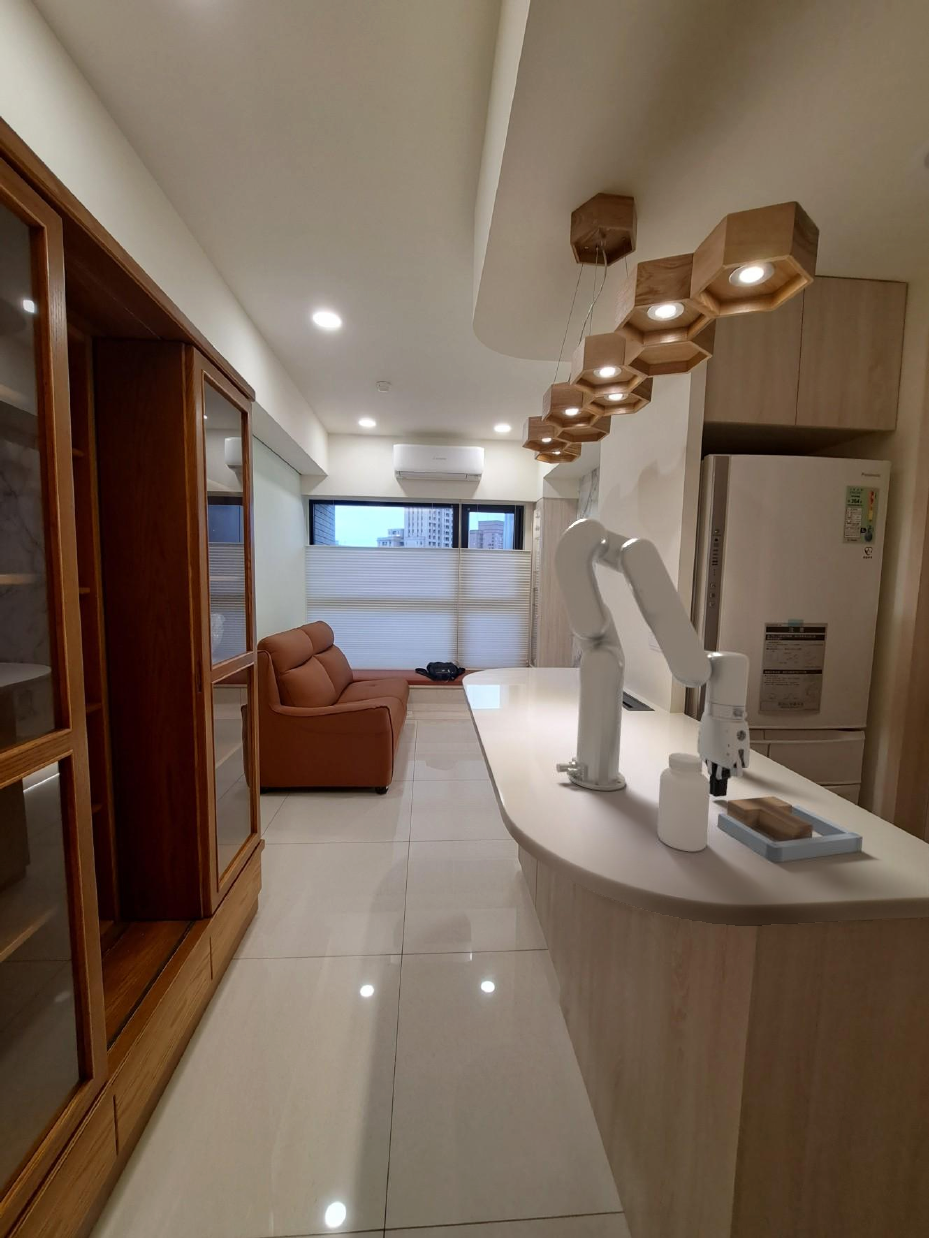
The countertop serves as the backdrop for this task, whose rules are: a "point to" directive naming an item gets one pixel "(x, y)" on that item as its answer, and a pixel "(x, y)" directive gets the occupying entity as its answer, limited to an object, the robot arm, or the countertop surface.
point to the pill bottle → (683, 803)
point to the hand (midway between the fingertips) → (717, 794)
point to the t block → (770, 818)
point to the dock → (829, 844)
